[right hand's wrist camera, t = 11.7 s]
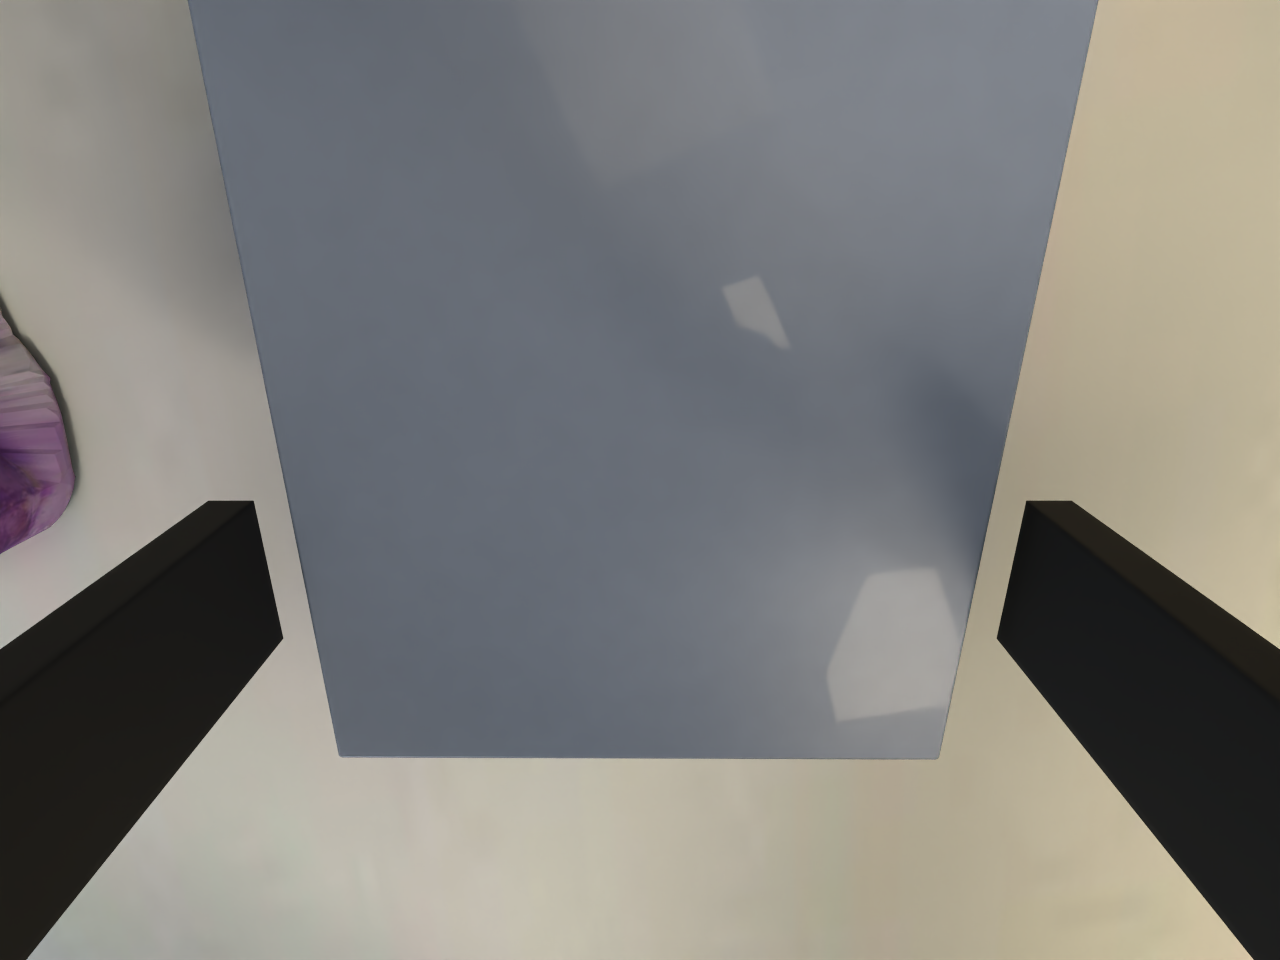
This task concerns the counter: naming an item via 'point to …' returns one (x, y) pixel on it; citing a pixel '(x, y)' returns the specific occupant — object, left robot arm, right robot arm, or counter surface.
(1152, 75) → the counter surface
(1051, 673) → the right robot arm
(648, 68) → the cabinet
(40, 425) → the figurine
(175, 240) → the counter surface
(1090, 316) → the counter surface
